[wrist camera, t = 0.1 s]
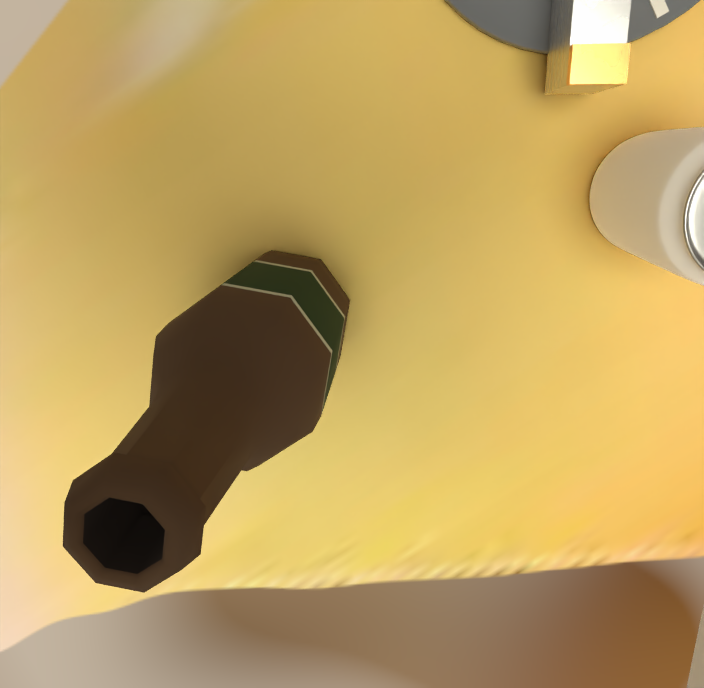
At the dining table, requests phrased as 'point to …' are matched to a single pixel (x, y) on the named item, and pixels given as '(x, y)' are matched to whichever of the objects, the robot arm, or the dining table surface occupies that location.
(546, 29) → the dial plate
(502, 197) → the dining table surface
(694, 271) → the can
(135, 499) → the beer bottle
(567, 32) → the dial
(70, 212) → the dining table surface
